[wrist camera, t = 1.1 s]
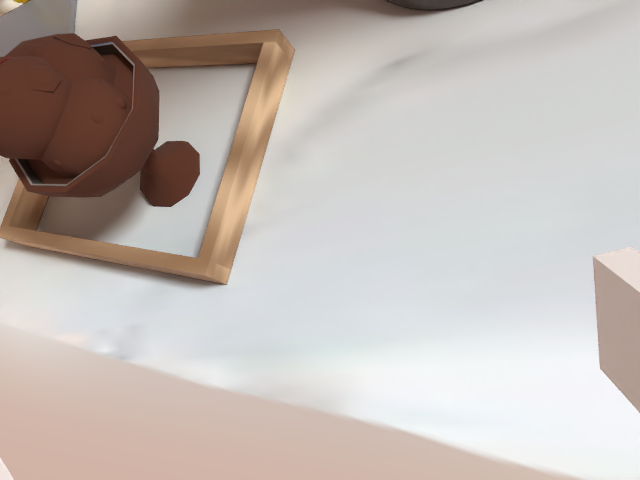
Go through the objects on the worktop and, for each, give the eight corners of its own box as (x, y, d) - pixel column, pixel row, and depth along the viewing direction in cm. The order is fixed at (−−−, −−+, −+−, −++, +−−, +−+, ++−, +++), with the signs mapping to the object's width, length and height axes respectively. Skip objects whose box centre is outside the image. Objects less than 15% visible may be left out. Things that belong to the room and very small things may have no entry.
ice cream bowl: (250, 187, 39) (81, 64, 26) (130, 267, 41) (-78, 191, 29) (209, 85, 44) (49, -61, 31) (104, 162, 46) (-84, 57, 34)
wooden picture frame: (92, 60, 51) (71, 45, 49) (294, 49, 41) (279, 29, 39) (22, 244, 48) (-4, 236, 46) (226, 284, 37) (205, 275, 35)
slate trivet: (-22, 35, 62) (-27, 32, 62) (78, -20, 57) (73, -25, 56) (-41, 150, 56) (-47, 148, 56) (68, 101, 51) (63, 97, 51)
